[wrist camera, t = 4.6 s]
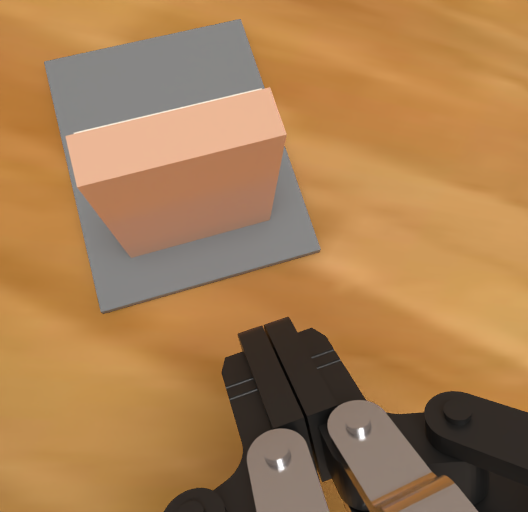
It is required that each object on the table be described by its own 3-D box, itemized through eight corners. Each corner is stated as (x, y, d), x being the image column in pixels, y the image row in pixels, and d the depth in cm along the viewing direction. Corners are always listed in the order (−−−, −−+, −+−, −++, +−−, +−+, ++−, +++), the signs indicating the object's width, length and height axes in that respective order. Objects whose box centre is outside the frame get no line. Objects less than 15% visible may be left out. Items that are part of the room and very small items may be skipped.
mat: (319, 252, 32) (320, 249, 32) (103, 313, 31) (100, 312, 30) (240, 24, 37) (240, 19, 36) (47, 67, 35) (44, 61, 34)
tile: (269, 220, 32) (286, 134, 22) (131, 257, 31) (77, 187, 20) (257, 183, 33) (268, 82, 22) (121, 219, 32) (64, 130, 21)
